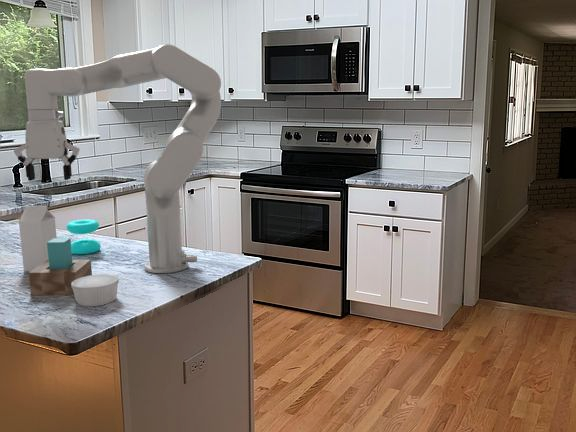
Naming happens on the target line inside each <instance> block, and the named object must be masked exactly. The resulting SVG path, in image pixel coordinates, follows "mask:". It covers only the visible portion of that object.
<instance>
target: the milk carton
mask: <svg viewBox="0 0 576 432" xmlns="http://www.w3.org/2000/svg"><path fill="white" fill-rule="evenodd" d="M56 225H57V224H56V217H55V216H54V215H53V214H52V213H51V212H50V210H48V205H27V204H26V205H24V210H23V212H22V214H21V216H20V218H19V220H18V226H19V238H20V244H21V245H20V247H21V254H22V255H21V256H22V265H23V272H28V273H29V272H30V271H32V270H33V269H35V268H36V267H38V266H39V265H41V264H42V263H44V262H45V261H47V260H49V259H48V249H47V242H48V241H50V240H52V239H53V238H58V237H57V228H56Z"/></svg>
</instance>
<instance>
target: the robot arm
mask: <svg viewBox="0 0 576 432" xmlns="http://www.w3.org/2000/svg"><path fill="white" fill-rule="evenodd" d="M164 79H168V80H169V81H171V82H172V83H174V84H176V85H178V86H179V87H180V88H183V89H184V90H185V91H188V92H189V93H190V96H191V103H190V107H189V108H188V110H187V111H186V113H185V114H184V116H183V118H182V119H181V120H180V122H179V124H178V125H177V127H176V128H175V129H174V130H173V132H172V133H171V134H170V135H169V137H168V138H167V140H166V146H165V148H164V150H163V151H162V152H161V154H160V155H159V157H158V159H157V160H155V161H154V160H153V161H152V162H151V163H150V164H149V165H148V166H147V167H146V169H145V170H144V174H143V182H144V194H145V195H144V196H145V204H146V206H145V207H146V225H147V243H148V260H149V261H148V262H146V263H144V270H145V271H146V272H149V273H152V274H171V273H177V272H181V271H184V270H186V269H187V268H188V267H189V263H197V262H198V256H197V255H195V254H186V253H185V249H183V244H182V242H183V241H182V225H181V224H182V223H181V221H182V220H181V203H180V192H179V191H180V190H181V189H182V187H183V185H184V184H185V183H186V181H188V180H187V179H189V177H190V175H191V174H192V172H193V171H194V169H195V168H196V166H197V165H198V164H199V162H200V160H201V158H202V157H203V153H204V142H205V141H206V139H207V137H209V134H210V133H211V131H212V130H213V128H214V126H215V125H216V124H217V121H218V119H219V116H220V114H221V109H222V97H221V92H220V90H221V87H222V80H221V78H220V75H219V73H218V72H217V71H216V70H215V69H213V68H212V67H211V66H209V65H208V64H205V63H204V62H202V61H201V60H199V59H197V58H196V57H194V56H192V55H190V54H189V53H187V52H185V51H184V50H182V49H180V48H178V47H177V46H175V45H173V44H168V43H167V44H162V45H159V46H158V47H152V48H148V49H144V50H139V51H138V50H137V51H134V52H129V53H124V54H118V55H116V56H114V57H111V58H109V59H107V60H104V61H101V62H98V63H94V64H93V63H92V64H89V65H83V66H79V67H74V68H73V67H63V68H62V67H61V68H57V69H56V68H55V69H49V68H30V69H27V70H26V71H25V72H24V83H25V84H24V85H25V94H26V102H27V103H26V104H27V115H28V121H27V122H26V124H25V125H26V126H25V138H24V139H25V143H24V144H22V145H20V146H18V147H16V148H15V149H14V150H13V152H14V154H15V156H16V158H17V159H18V161H19V162H20V163H22V164H23V167H25V176H26V178H27V180H28V182H30V181H31V182H32V181H34V180H35V179H36V173H35V165H34V164H33V163H34V161H35V160H54V159H59V160H60V161H62V163H63V164H64V165H62V169H63V179H64V181H68V180H71V177H72V174H73V173H72V164H73V163H74V161H75V160H76V159H77V158H78V155H79V153H80V148H79V147H77V146H76V145H73V144H71V143H69V142H68V139H67V133H66V129H65V125H64V122H63V120H60V119H61V118H62V117H64V111H60V109H59V108H58V107H59V105H58V96H61V97H62V96H63V97H68V98H71V97H79V96H82V95H83V96H84V95H86V94H87V95H88V94H92V93H95V92H96V93H97V92H101V91H106V90H111V89H112V90H113V89H122V88H126V87H133V86H135V85H139V84H144V83H150V82H155V81H159V80H164ZM69 150H70V151H71V152H72V153H71V155H70V156H68V155H69ZM23 151H25V154H26V156H27V158H26V156H25V155H23Z"/></svg>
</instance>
